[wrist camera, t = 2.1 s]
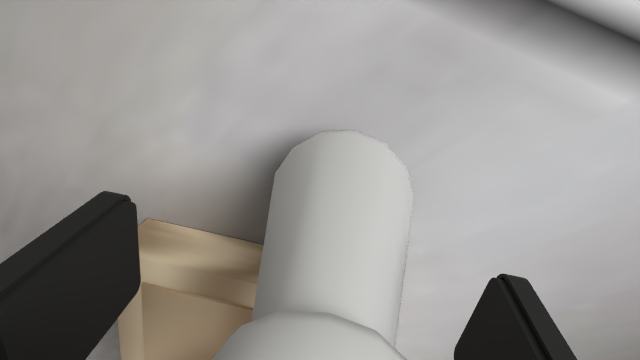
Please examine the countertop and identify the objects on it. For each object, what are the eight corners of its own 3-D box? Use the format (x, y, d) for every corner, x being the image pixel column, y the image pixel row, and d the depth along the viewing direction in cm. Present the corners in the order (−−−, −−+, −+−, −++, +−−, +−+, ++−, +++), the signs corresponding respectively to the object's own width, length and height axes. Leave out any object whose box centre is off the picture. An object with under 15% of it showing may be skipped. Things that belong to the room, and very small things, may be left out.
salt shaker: (357, 247, 19) (337, 640, 7) (264, 187, 18) (60, 514, 6) (433, 163, 16) (604, 543, 4) (330, 89, 15) (205, 315, 4)
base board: (362, 267, 19) (360, 310, 16) (321, 405, 24) (315, 457, 21) (147, 218, 19) (108, 252, 17) (152, 364, 25) (123, 409, 22)
